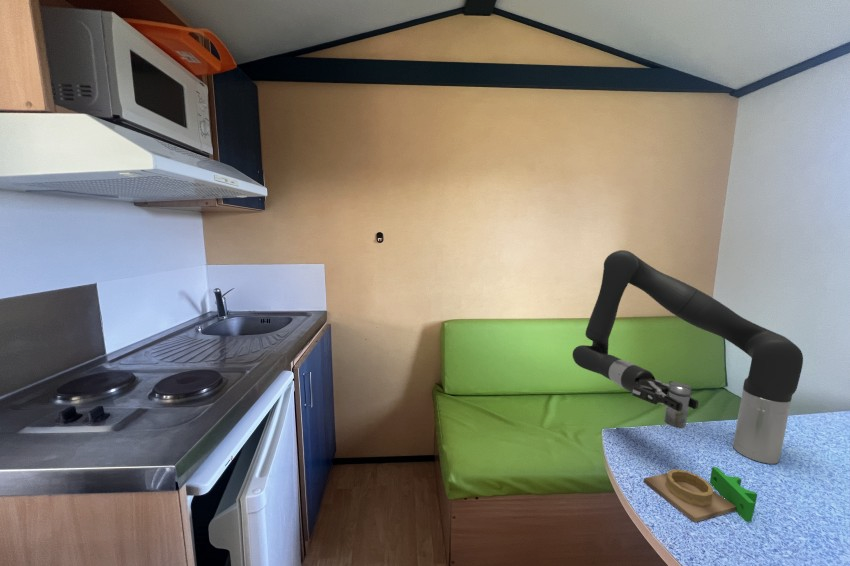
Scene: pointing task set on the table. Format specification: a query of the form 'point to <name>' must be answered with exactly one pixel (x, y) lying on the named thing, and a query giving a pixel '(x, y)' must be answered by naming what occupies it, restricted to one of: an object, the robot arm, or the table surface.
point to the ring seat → (690, 494)
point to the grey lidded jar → (682, 395)
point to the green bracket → (734, 493)
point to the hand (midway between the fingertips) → (688, 406)
